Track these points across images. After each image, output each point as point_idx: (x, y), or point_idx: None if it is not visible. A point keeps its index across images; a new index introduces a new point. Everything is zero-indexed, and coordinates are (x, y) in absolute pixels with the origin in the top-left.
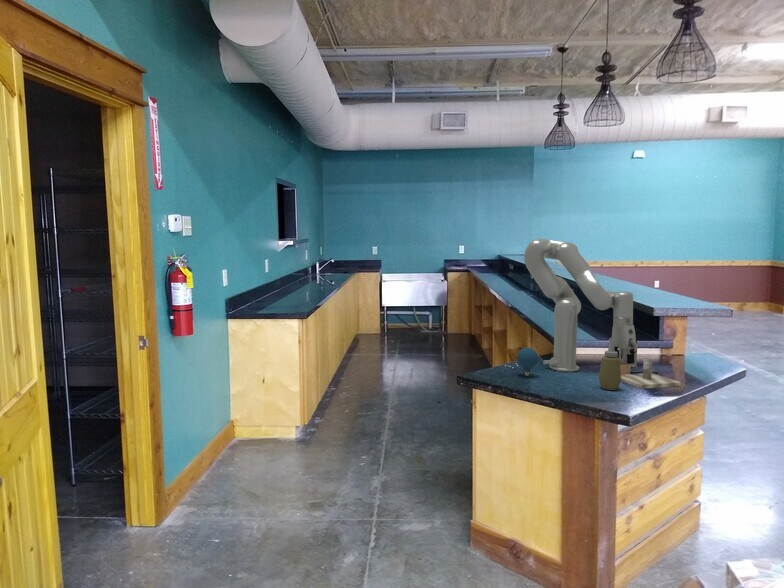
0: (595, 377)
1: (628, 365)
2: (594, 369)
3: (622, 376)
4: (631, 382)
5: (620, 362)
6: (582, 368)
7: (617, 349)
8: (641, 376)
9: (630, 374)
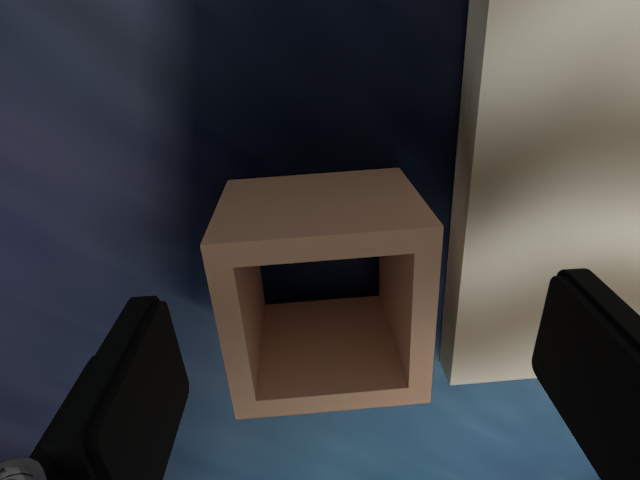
0: (366, 465)
1: (437, 258)
2: (64, 362)
3: (524, 351)
4: None
5: (237, 273)
6: (33, 436)
7: (36, 463)
8: (609, 156)
9: (483, 229)
